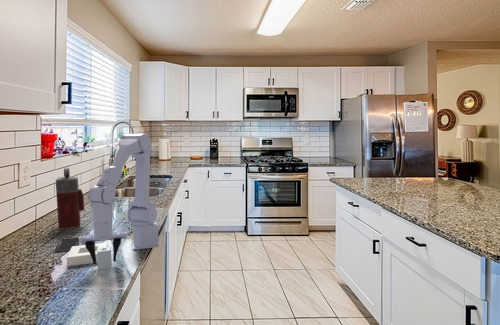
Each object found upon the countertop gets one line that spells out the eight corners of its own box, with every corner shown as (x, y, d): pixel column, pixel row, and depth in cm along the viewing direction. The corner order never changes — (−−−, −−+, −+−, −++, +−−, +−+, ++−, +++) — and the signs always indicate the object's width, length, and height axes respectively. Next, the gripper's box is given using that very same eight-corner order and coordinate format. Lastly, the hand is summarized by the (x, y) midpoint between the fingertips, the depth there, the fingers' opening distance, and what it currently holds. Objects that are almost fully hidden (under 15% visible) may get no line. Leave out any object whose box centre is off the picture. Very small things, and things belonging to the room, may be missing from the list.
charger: (111, 263, 116) (110, 245, 116) (111, 268, 112) (110, 249, 112) (99, 265, 115) (98, 247, 114) (98, 269, 111) (97, 251, 110)
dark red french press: (85, 226, 164) (82, 168, 161) (58, 229, 159) (54, 169, 157) (85, 221, 172) (82, 166, 170) (60, 224, 167) (56, 167, 165)
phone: (54, 250, 127) (60, 239, 141) (54, 253, 127) (60, 242, 141) (77, 248, 130) (81, 237, 144) (77, 251, 130) (81, 239, 144)
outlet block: (107, 250, 129) (107, 242, 129) (105, 261, 118) (105, 252, 118) (72, 254, 125) (72, 246, 125) (67, 266, 114) (66, 257, 114)
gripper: (76, 227, 106) (79, 269, 107) (126, 222, 111) (128, 263, 112) (79, 221, 113) (81, 261, 114) (126, 217, 118) (127, 255, 119)
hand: (104, 261), depth 113 cm, fingers open, 5 cm apart
